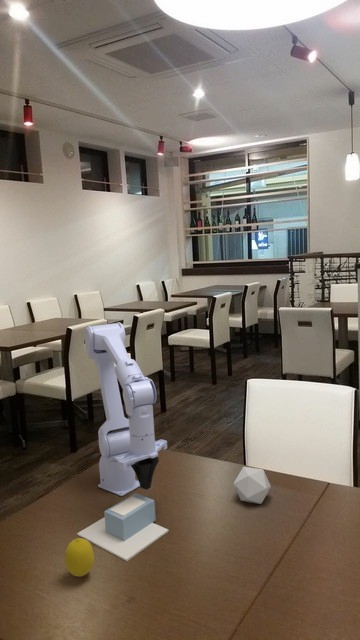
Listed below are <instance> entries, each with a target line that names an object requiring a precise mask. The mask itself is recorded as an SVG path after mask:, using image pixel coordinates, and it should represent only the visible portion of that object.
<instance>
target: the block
mask: <svg viewBox="0 0 360 640" xmlns="http://www.w3.org/2000/svg"><path fill="white" fill-rule="evenodd" d="M103 515H104V517H105V528H106V532H107V533H109V534H111V535H113V536H115V537H117V538H119V539H121V540H123V541H126V540H127V539H129V538H130V537H132V536H133V535H135V534H136V533H138V532H139V531H141V530H142V529H144V528H145V527H147V526H148V525H150V524H151V523H154V522H155V521H157V520H156V505H155V500H154V499H152V498H150V497H147V496H144V495H143V494H140V493H133V494H132V495H129V496H128V497H127V498H125V499H123V500H121V501H119V502H117V503H116V504H115V505H113V506H111V507H110V508H107V509H106V510H104V512H103Z"/></svg>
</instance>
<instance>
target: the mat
mask: <svg viewBox="0 0 360 640" xmlns="http://www.w3.org/2000/svg"><path fill="white" fill-rule="evenodd" d="M168 532H170V531H169V529H168V528H165V527H163V526H161V525H159V524H157V523H154V522H153V523H151V524H150V525H148V526H147V527H145V528H144V529H142V530H141V531H139V532H138V533H136V534H135V535H133V536H132V537H130V538H129V539H127V540H126V541H123V540H121V539H119V538H117V537H115V536H113V535H111V534H109V533H107V532H106V528H105V516H104V517H102V518H101V519H99V520H97V521H95V522H94V523H92V524H91V525H89V526H86V528H84V529H82V530H80V531H79V532H77V533H76V535H77V536H78V537H79V538H83V539H85V540H87V541H88V542H89V543H90V544H94V545H95V546H97V547H99V548H101V549H103V550H105V551H106V552H108V553H111V554H112V555H114V556H116V557H117V558H119V559H121V560H124V561H126V562H128V561H130V560H131V559H132V558H135V556H137V555H138V554H139V553H141V552H142V551H143V550H145V549H146V548H147V547H149V546H150V545H152V544H154V542H156V541H157V540H159V539H160V538H162V537H163V536H165V535H166V534H168Z"/></svg>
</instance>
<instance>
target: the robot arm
mask: <svg viewBox="0 0 360 640" xmlns="http://www.w3.org/2000/svg"><path fill="white" fill-rule="evenodd" d="M84 343H85V347H86V354H87V356H88V359H91V360H93V361H94V363H95V366H96V370H97V376H98V381H99V387H100V393H101V397H102V402H103V408H104V414H105V419H106V420H105V421H104V423H103V424H102V425H101V426H100V427H99V429H98V431H97V434H98V447H99V451H100V454H101V456H100V458H99V463H98V466H99V467H98V468H99V480H100V483H98V487H99V488H101V489H103V490H106V491H108V492H110V493H113V494H115V495H117V496H120V497H124V496H125V495H127V494H129V493H131V492H132V491H134V490H136V489H137V488H139V487H140V488H141V489H143V490H149V489H151V487H152V482H153V476H154V473H155V470H156V468H157V465H158V463H159V462H160V461H159V453H158V452H160V451H162V450H163V451H164V450H167V449H168V441H167V440H165V439H162V438H161V439H158V440H156V438H155V423H154V421H155V419H154V407H153V406H154V404H156V402H157V390H156V386H155V384H154V381H153V379H151V378H149V377H148V376H144V374H143V372H142V370H141V368H140V367H139V365H138V363H137V362H136V360H135V359H134V358H133V359H132V358H130V357H129V355H128V352H127V349H126V346H125V343H126V331H125V326H124V325H123V323H121V322H119V321H117V322H116V323H107V324H100V325H98V324H97V325H87V326H86V328H85V329H84ZM118 382H119V383H118ZM119 385H120V386H121V389H122V398H123V401H124V407H125V413H126V415H127V418H126V417H125V414H124V407H123V403H122V398H121V392H120V386H119ZM119 429H120V430H119ZM121 429H122V430H121ZM114 430H115V431H114ZM111 431H112V432H111ZM136 478H137V479H136Z"/></svg>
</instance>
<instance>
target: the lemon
mask: <svg viewBox="0 0 360 640" xmlns="http://www.w3.org/2000/svg"><path fill="white" fill-rule="evenodd" d="M64 560H65V562H64V563H65V567H66V569H67V570H68V572H69V574H71V575H72V576H74V577H80V578H81V577H83V576H85V575H87V574H89V572H90V571H91V570H92V568H93V566H94V562H95V553H94V549H93V546H92V543H91V542H90V541H88V540H86V539H84V538H82V537H77V538H75V539H73V540H71V541H70V543H69V544H68V545H67V547H66V550H65V555H64Z"/></svg>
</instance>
